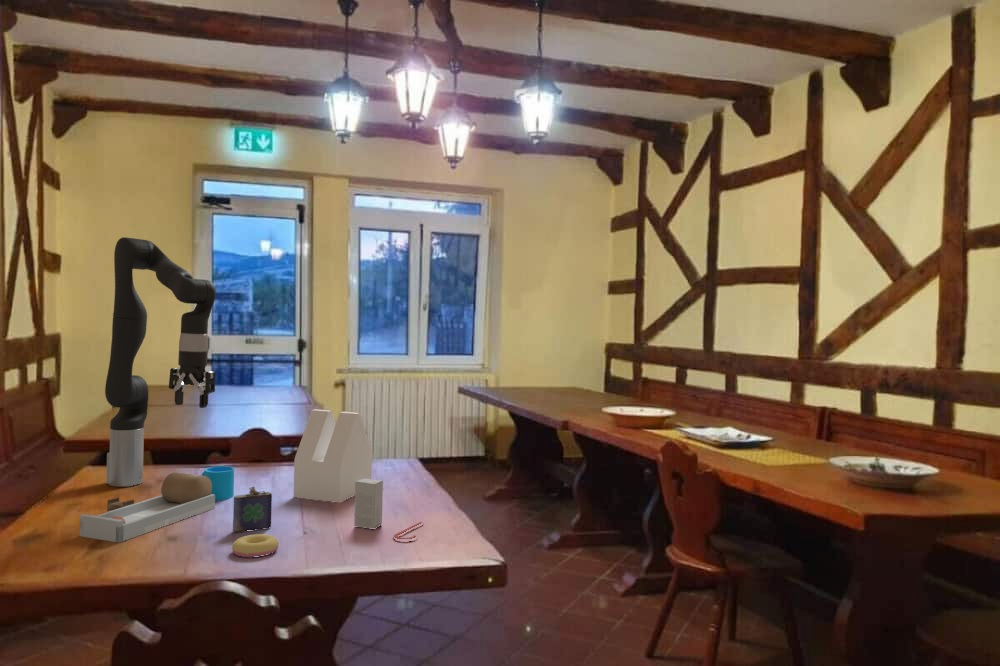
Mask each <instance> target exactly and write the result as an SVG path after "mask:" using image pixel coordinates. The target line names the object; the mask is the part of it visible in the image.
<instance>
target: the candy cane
mask: <svg viewBox="0 0 1000 666" xmlns="http://www.w3.org/2000/svg"><path fill="white" fill-rule="evenodd" d="M421 523H423V522H422V521H420V522H417V523H416V524H413V525H412V526H409V527H407V528H405V529H402V530H401V531H399V532H398V533H395V534H393V536H394V537H395V538H397V539H412V538H415V537H416V536H417V535H412V536H411V537H398V535H400V534H402V533H404V532H406V531H407V530H409V529H411V528H413V527H415V526H417V525H419V524H421Z"/></svg>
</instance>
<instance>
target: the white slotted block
mask: <svg viewBox="0 0 1000 666" xmlns="http://www.w3.org/2000/svg"><path fill="white" fill-rule="evenodd" d="M293 462H294V463H293V465H294V467H293V468H294V469H293V498H295V497H297V498H296V499H303V498H305V499H304V500H310V499H313V500H312V501H318V500H324V501H323V502H326V501H335V502H341V501H343V500H345V499H347V498H349V497H351V496H353V495H355V482H356V481H358V480H361V479H363V478H364V479H372V475H373V474H372V471H373V470H372V469H373V465H372V464H373V450H372V448H371V444H370V441H369V438H368V435H367V431H366V428H365V425H364V421H363V419H362V416H361V413H360V412H351V411H350V412H349V411H339V413H338V416H337V420H336V419H335V416H334V412H333V410H328V409H311V412H310V415H309V418H308V420H307V422H306V425H305V429H304V431H303V434H302V436H301V440H300V442H299V445H298V448H297V450H296V453H295V457H294V461H293ZM349 499H350V498H349ZM347 500H348V499H347ZM345 501H346V500H345ZM343 502H344V501H343ZM341 503H342V502H341Z"/></svg>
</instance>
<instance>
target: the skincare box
mask: <svg viewBox="0 0 1000 666" xmlns="http://www.w3.org/2000/svg"><path fill="white" fill-rule="evenodd" d="M383 481H384V480H380V479H372V478H371V479H364V478H363V479H361V480H358V481H356V482H355V496H354V523H353V524H354V526H358V527H366V528H376V527H378V526H379V525H381V524H382V525H383V496H384V494H383V492H384V491H383V490H384V487H383V486H384V482H383Z"/></svg>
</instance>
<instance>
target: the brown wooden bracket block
mask: <svg viewBox="0 0 1000 666" xmlns="http://www.w3.org/2000/svg"><path fill="white" fill-rule="evenodd" d="M106 504H107V505H106V506H107V507H106V509H107V510H106V513H107V512H109V511H112V510H115V509H119V508H122V507H125V506H128V505H132V504H135V500H134V499H128V500H126V501H121V500H120V497H118V496H116V497H113V498H110V499H107V503H106Z"/></svg>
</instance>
